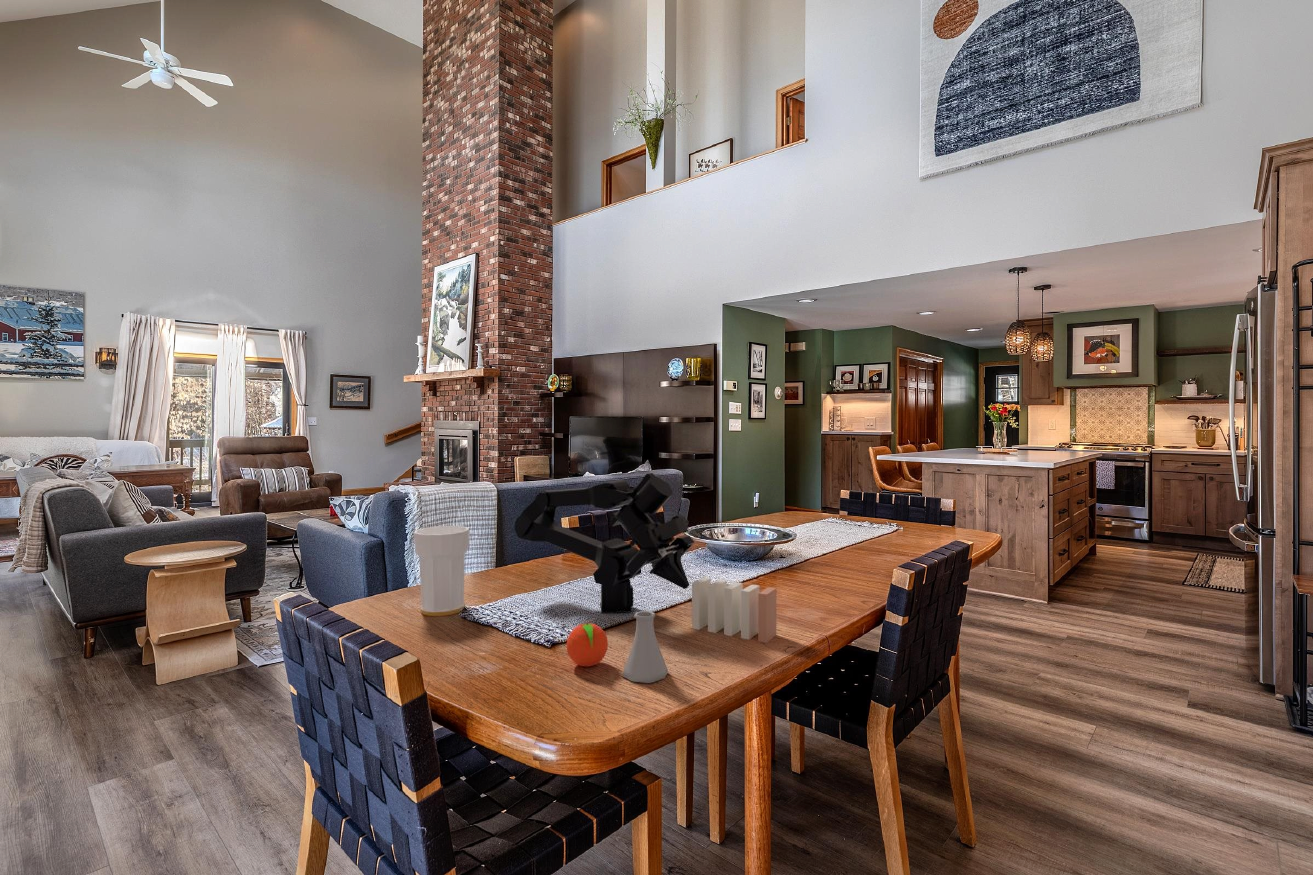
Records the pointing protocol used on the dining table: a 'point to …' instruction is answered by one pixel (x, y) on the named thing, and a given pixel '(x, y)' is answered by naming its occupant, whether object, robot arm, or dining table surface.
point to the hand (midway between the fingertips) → (687, 587)
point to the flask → (645, 652)
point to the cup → (442, 568)
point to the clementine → (587, 644)
